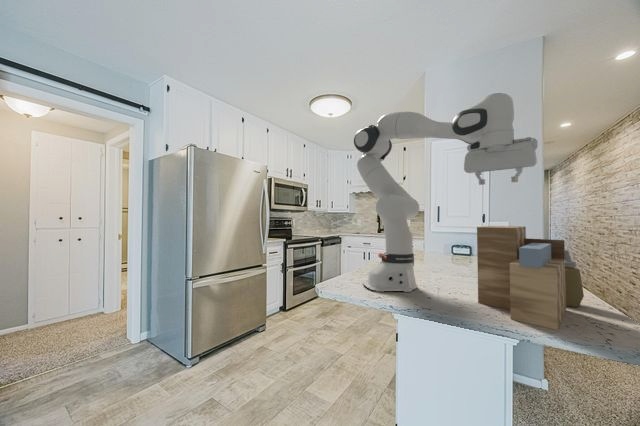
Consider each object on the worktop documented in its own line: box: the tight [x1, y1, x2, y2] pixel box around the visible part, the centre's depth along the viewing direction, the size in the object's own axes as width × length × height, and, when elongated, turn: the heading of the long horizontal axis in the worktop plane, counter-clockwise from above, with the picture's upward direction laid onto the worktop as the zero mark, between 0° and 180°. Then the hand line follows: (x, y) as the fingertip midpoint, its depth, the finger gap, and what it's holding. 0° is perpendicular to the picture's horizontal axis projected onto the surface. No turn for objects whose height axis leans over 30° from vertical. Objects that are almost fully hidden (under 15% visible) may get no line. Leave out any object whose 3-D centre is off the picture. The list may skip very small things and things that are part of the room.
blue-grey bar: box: [519, 243, 551, 268], centre depth 76 cm, size 19×4×5 cm, turn 132°
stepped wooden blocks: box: [476, 225, 567, 331], centre depth 83 cm, size 23×21×26 cm
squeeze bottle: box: [565, 249, 585, 308], centre depth 86 cm, size 8×8×18 cm
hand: (497, 183), depth 87 cm, fingers open, 8 cm apart
